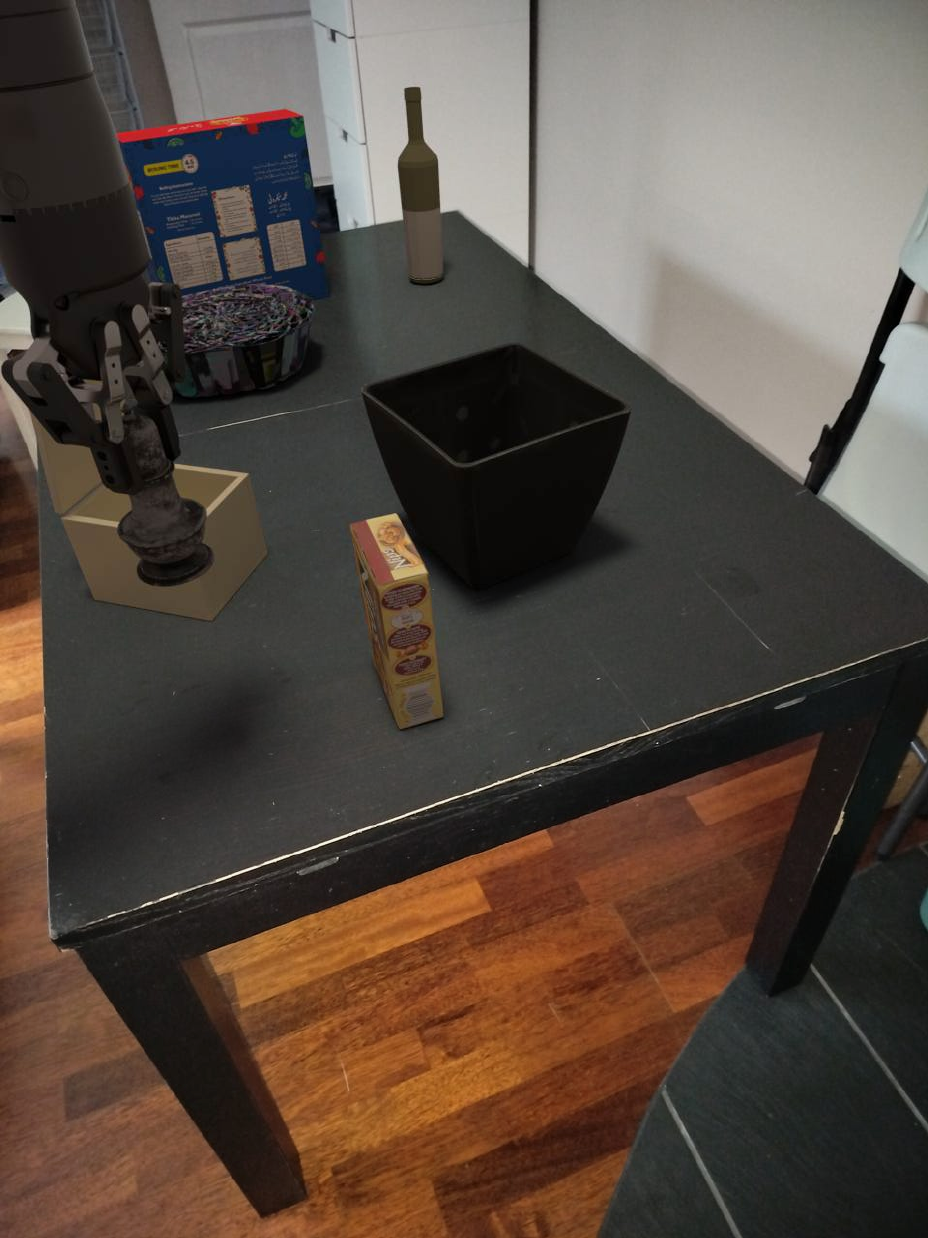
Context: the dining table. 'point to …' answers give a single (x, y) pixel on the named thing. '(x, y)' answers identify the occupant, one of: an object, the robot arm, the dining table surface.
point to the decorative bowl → (242, 338)
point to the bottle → (420, 197)
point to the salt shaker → (161, 514)
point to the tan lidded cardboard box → (226, 533)
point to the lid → (67, 463)
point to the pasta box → (228, 203)
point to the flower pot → (497, 456)
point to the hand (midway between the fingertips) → (146, 473)
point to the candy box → (399, 618)
